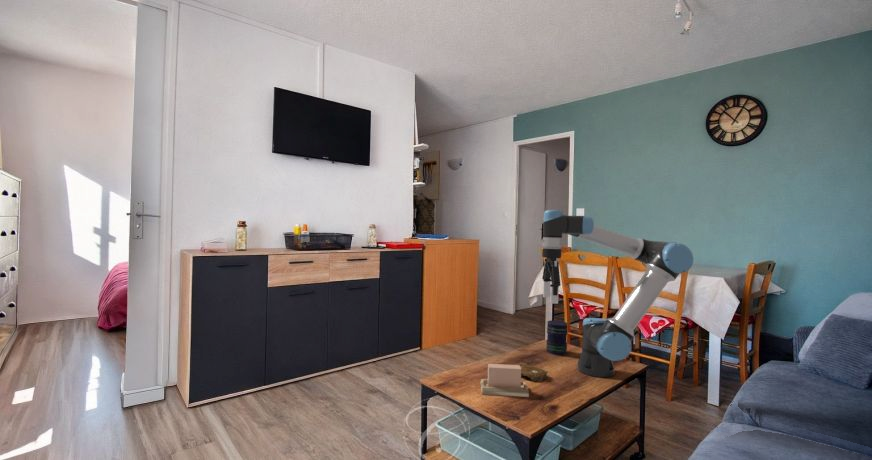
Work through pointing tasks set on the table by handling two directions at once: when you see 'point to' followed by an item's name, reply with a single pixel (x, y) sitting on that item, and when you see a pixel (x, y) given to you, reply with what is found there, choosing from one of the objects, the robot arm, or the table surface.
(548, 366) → the table surface
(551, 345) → the storage jar
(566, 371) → the table surface
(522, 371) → the decorative rock
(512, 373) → the clay block
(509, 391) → the cream rectangular tray
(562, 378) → the table surface
